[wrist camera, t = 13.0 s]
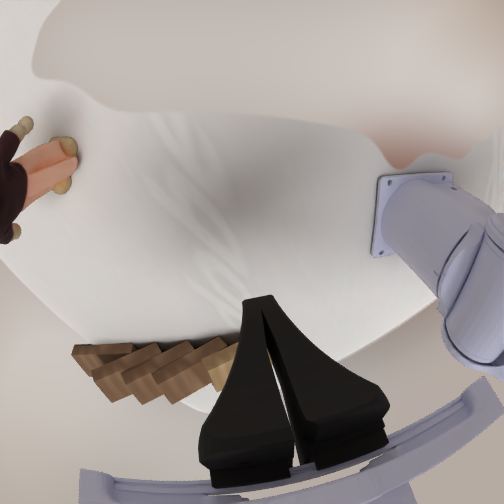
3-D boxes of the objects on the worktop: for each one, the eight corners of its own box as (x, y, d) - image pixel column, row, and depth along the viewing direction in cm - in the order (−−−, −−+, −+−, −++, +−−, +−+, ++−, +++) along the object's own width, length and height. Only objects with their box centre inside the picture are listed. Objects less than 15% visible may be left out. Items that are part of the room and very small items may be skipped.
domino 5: (281, 334, 26) (208, 370, 23) (281, 359, 29) (217, 392, 26) (272, 324, 28) (201, 359, 25) (273, 349, 30) (210, 381, 27)
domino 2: (161, 351, 26) (94, 381, 22) (172, 375, 28) (111, 402, 24) (155, 342, 27) (90, 370, 23) (166, 366, 29) (108, 392, 25)
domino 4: (227, 345, 26) (157, 385, 22) (233, 368, 29) (171, 404, 25) (218, 336, 27) (150, 373, 24) (225, 359, 30) (165, 394, 26)
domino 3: (194, 349, 26) (125, 384, 22) (203, 372, 28) (142, 404, 25) (187, 339, 27) (120, 373, 23) (196, 363, 29) (137, 394, 26)
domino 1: (130, 352, 25) (71, 354, 24) (145, 375, 28) (88, 376, 27) (132, 340, 26) (74, 344, 26) (146, 364, 29) (91, 366, 28)
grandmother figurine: (80, 207, 18) (-5, 328, 7) (41, 202, 17) (-51, 308, 6) (88, 107, 14) (-46, 148, 4) (46, 106, 13) (-88, 153, 3)
